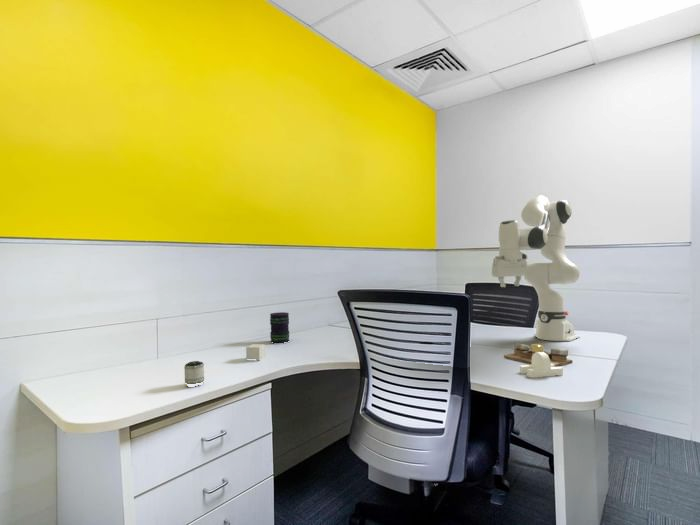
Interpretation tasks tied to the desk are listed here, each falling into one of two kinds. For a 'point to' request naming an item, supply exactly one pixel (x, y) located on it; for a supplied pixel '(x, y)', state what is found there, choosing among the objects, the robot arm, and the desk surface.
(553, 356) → the angled shaft stand
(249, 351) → the cream cube
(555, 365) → the bench
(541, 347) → the coupler
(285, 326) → the storage jar
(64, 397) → the desk surface
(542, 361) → the slotted bracket
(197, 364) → the camera lens
